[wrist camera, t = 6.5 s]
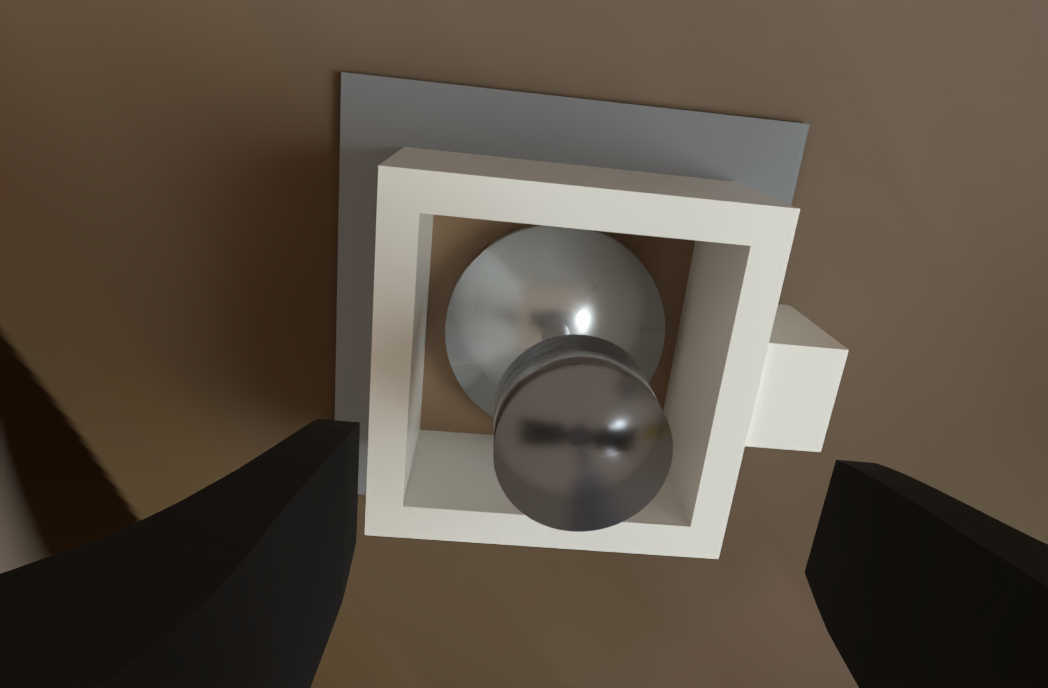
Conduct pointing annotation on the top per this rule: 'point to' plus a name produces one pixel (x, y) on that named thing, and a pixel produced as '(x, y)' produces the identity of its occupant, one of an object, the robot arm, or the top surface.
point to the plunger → (564, 372)
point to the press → (582, 203)
